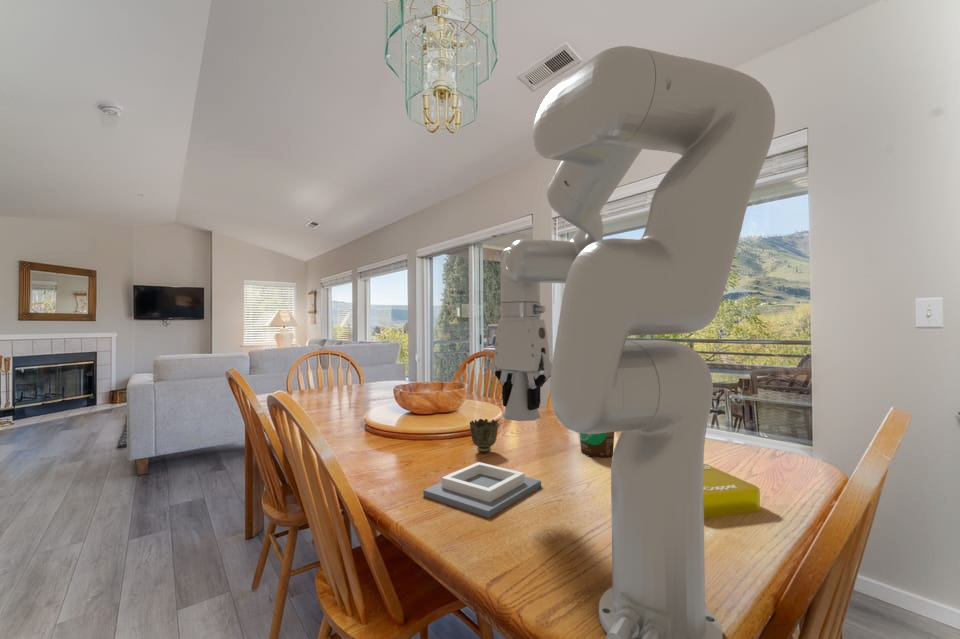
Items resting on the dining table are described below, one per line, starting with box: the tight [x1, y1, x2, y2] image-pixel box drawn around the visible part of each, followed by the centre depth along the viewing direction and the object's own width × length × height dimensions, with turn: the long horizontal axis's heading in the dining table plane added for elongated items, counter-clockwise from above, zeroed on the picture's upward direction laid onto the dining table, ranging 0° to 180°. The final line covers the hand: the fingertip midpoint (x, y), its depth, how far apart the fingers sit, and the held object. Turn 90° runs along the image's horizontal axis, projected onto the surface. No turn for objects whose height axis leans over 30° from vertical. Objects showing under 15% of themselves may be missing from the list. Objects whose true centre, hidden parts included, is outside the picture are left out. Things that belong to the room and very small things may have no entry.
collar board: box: [422, 461, 542, 519], centre depth 87 cm, size 18×16×3 cm
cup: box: [469, 418, 499, 454], centre depth 113 cm, size 8×7×8 cm
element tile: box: [703, 463, 761, 520], centre depth 82 cm, size 15×15×5 cm
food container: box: [578, 432, 615, 459], centre depth 111 cm, size 12×6×10 cm, turn 25°
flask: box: [502, 371, 541, 422], centre depth 83 cm, size 7×7×10 cm
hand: (521, 406), depth 83 cm, fingers closed on flask, 5 cm apart
